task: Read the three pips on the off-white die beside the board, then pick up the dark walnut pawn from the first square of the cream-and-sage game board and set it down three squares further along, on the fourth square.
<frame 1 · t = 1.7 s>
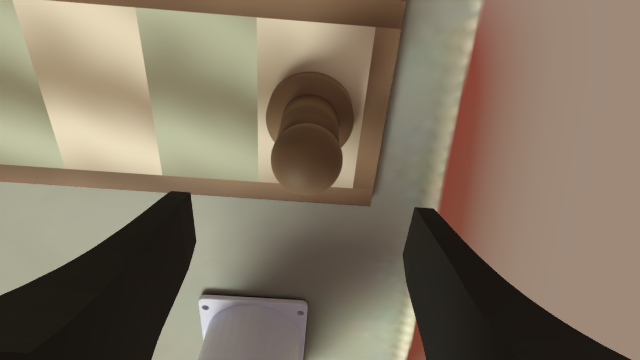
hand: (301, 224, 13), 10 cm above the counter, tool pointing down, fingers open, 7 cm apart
game board: (103, 91, 21), on the counter
pawn: (310, 113, 21), point 1 cm above the counter, touching game board
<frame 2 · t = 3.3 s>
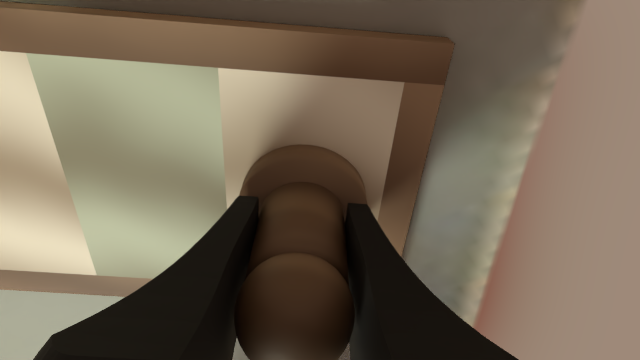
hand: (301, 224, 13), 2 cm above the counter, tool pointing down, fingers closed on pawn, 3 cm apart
game board: (2, 166, 14), on the counter
pawn: (303, 199, 14), point 1 cm above the counter, touching game board, gripper
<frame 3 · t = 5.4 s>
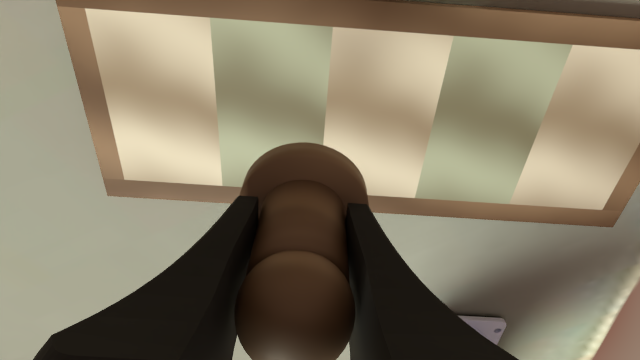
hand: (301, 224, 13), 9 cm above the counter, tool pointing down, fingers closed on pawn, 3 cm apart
game board: (377, 116, 21), on the counter
pawn: (304, 197, 14), point 8 cm above the counter, touching gripper
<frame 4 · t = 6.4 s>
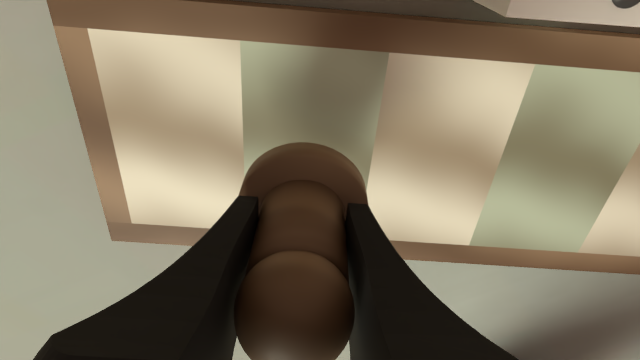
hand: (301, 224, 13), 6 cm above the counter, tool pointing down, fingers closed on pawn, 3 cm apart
game board: (430, 154, 18), on the counter
pawn: (304, 197, 14), point 4 cm above the counter, touching gripper
when the fingers open (3 cm above the counter, at t = 7.5 s): pawn drops 1 cm, resting on game board.
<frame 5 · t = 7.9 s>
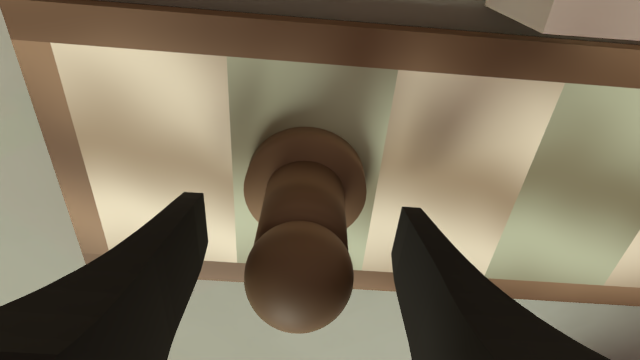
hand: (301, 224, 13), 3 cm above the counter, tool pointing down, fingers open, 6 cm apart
game board: (442, 179, 16), on the counter
pawn: (306, 179, 15), point 1 cm above the counter, touching game board
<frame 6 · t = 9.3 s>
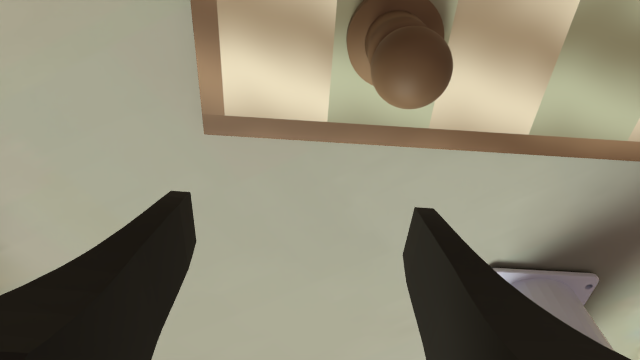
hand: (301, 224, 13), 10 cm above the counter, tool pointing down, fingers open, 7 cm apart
game board: (498, 42, 20), on the counter
pawn: (392, 37, 19), point 1 cm above the counter, touching game board
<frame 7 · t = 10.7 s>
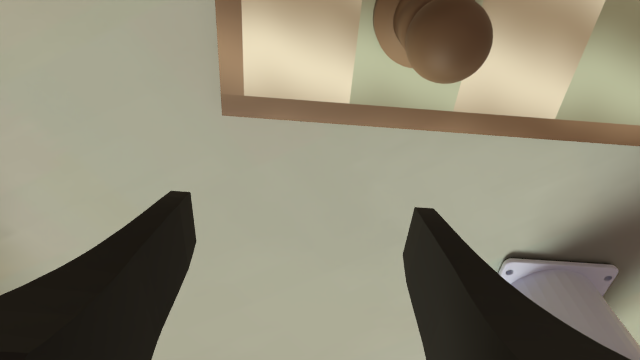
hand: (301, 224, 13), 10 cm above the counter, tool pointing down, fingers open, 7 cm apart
game board: (527, 22, 19), on the counter
pawn: (420, 15, 18), point 1 cm above the counter, touching game board
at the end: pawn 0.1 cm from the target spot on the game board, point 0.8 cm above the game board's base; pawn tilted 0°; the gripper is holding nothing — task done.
